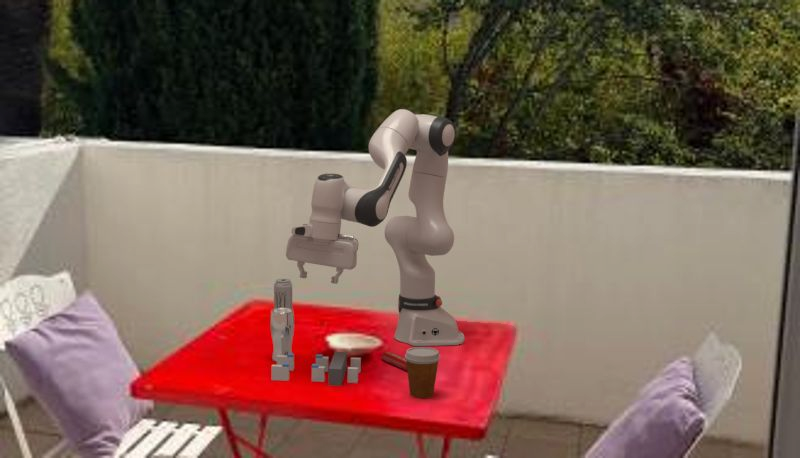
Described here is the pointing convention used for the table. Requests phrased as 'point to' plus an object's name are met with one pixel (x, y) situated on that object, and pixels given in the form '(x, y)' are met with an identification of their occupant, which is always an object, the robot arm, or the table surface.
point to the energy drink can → (283, 294)
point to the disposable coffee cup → (422, 370)
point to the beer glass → (282, 331)
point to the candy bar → (395, 360)
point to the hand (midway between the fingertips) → (318, 280)
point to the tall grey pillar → (337, 368)
